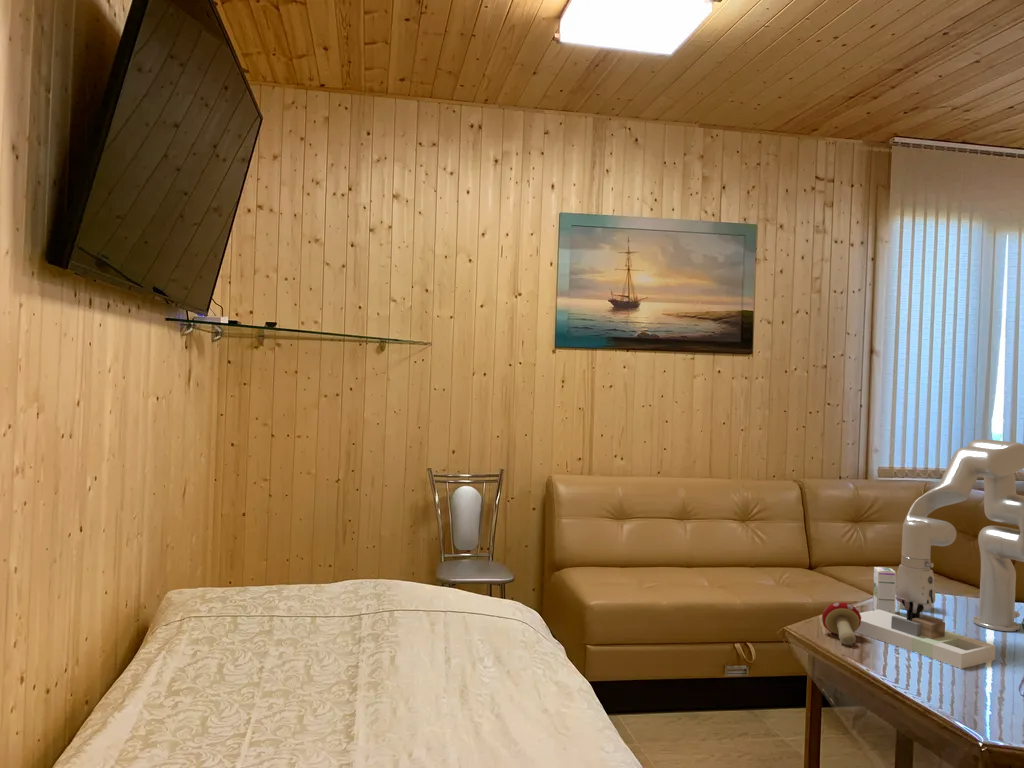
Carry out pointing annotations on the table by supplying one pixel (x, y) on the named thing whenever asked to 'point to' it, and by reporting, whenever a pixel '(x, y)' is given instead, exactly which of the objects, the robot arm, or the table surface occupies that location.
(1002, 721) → the table surface
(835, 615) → the decorative mushroom
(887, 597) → the syrup box
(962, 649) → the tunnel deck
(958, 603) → the table surface
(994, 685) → the table surface
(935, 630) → the walnut block
